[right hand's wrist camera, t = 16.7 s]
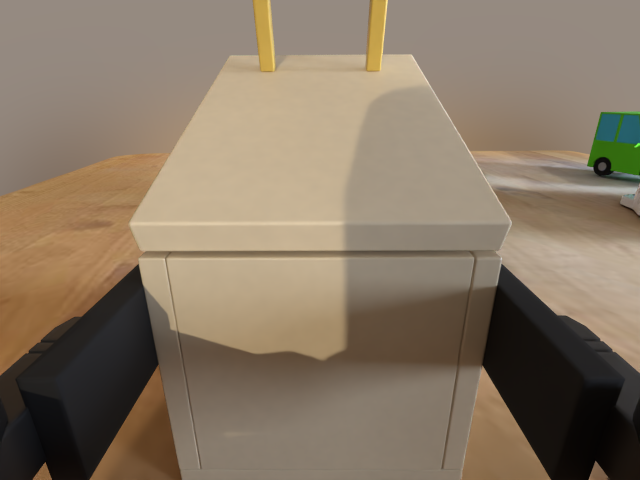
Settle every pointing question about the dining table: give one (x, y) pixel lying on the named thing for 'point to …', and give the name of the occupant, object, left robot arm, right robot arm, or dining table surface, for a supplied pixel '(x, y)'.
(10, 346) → the dining table surface
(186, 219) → the lid
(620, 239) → the dining table surface
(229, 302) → the chest
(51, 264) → the dining table surface
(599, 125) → the toy car
